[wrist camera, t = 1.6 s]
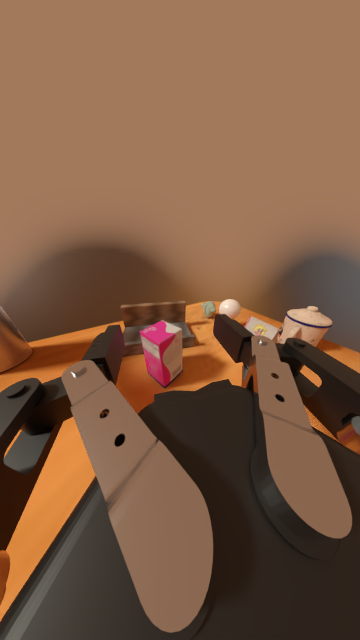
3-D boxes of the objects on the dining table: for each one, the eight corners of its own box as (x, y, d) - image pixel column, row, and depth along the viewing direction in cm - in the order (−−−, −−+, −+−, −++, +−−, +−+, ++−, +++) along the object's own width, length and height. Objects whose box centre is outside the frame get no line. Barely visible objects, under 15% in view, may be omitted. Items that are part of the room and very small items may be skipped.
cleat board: (119, 356, 33) (110, 327, 29) (127, 329, 44) (121, 305, 40) (194, 346, 36) (196, 318, 32) (183, 323, 48) (184, 300, 43)
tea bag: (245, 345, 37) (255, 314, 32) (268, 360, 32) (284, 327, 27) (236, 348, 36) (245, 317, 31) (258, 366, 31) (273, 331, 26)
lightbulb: (238, 331, 43) (247, 300, 38) (227, 338, 40) (235, 305, 35) (222, 323, 48) (228, 295, 43) (211, 329, 44) (216, 299, 39)
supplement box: (165, 358, 33) (162, 318, 27) (183, 371, 29) (184, 329, 24) (146, 372, 29) (138, 330, 23) (164, 389, 25) (160, 344, 20)
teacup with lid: (283, 331, 43) (298, 298, 38) (318, 346, 37) (344, 309, 31) (264, 343, 38) (279, 307, 32) (302, 364, 31) (330, 322, 25)
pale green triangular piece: (198, 314, 55) (199, 299, 51) (206, 312, 56) (208, 297, 53) (210, 322, 48) (212, 306, 45) (218, 320, 50) (221, 304, 47)
